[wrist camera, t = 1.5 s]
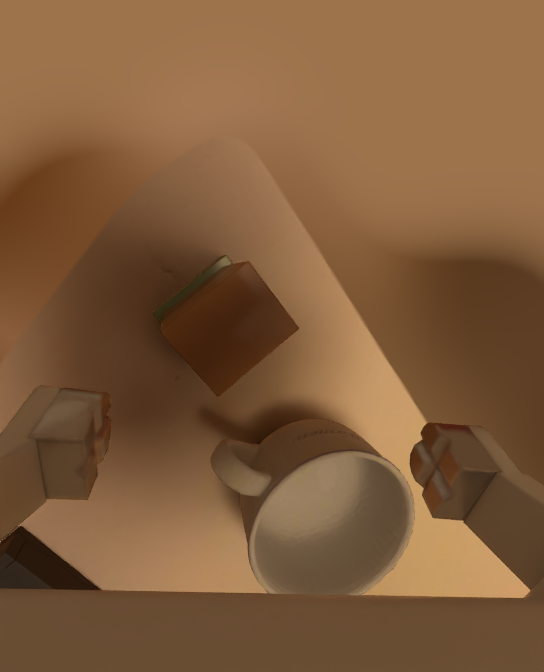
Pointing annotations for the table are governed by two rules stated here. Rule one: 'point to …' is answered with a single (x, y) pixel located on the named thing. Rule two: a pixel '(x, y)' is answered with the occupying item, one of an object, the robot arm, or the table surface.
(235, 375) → the brown block green base
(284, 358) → the table surface
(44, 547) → the tray
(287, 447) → the teacup
